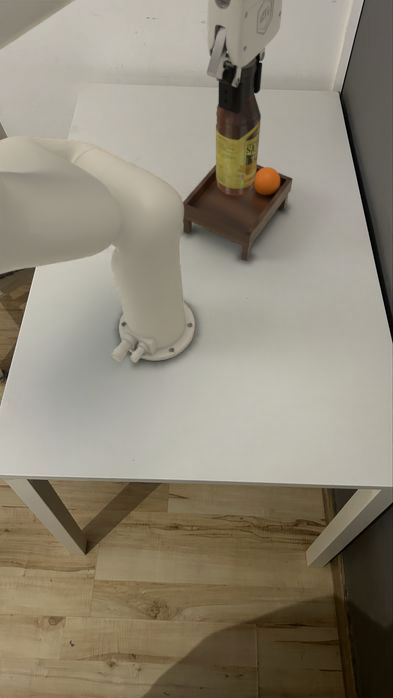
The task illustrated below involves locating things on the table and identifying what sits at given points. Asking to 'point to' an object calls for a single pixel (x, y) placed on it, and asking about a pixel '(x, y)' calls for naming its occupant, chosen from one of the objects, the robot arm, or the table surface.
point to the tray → (233, 210)
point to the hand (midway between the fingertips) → (239, 98)
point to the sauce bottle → (238, 139)
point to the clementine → (267, 181)
